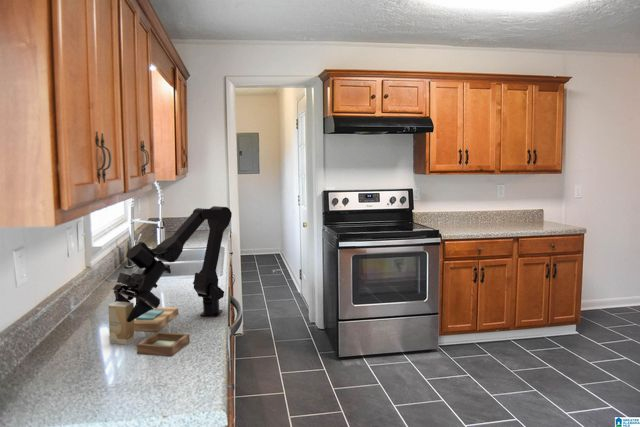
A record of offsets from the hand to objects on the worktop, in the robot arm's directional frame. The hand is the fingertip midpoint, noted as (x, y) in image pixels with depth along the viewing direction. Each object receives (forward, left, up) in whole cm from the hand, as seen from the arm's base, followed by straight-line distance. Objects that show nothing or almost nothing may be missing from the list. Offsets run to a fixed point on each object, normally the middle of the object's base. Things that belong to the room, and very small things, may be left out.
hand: (119, 318), depth 157 cm
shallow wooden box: (-19, +1, -7) cm, 21 cm away
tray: (+4, +15, -7) cm, 17 cm away
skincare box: (0, 0, -8) cm, 8 cm away
